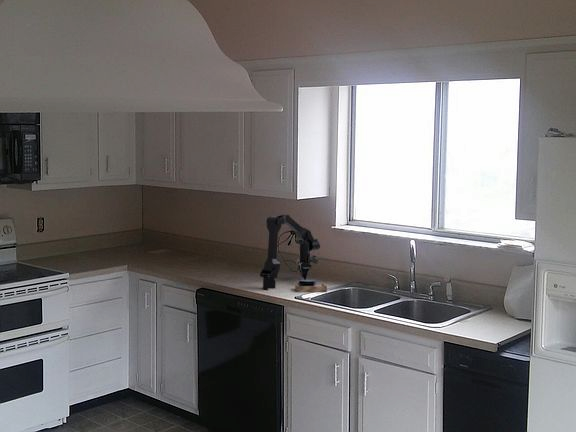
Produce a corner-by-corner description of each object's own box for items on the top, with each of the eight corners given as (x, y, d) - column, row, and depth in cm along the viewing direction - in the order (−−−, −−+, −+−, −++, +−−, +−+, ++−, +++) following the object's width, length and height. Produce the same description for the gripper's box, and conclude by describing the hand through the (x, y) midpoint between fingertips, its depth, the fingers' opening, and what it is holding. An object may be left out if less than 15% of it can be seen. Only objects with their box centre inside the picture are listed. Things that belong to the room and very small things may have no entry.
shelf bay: (297, 292, 400) (298, 286, 399) (295, 288, 411) (295, 283, 411) (326, 292, 401) (326, 286, 401) (323, 288, 413) (323, 283, 413)
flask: (298, 280, 419) (301, 278, 429) (298, 285, 419) (301, 284, 429) (314, 281, 417) (317, 279, 428) (314, 286, 417) (317, 284, 428)
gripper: (320, 253, 424) (320, 280, 425) (315, 249, 442) (315, 276, 443) (301, 253, 422) (300, 280, 423) (296, 249, 441) (296, 276, 442)
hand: (303, 278), depth 433 cm, fingers open, 9 cm apart
